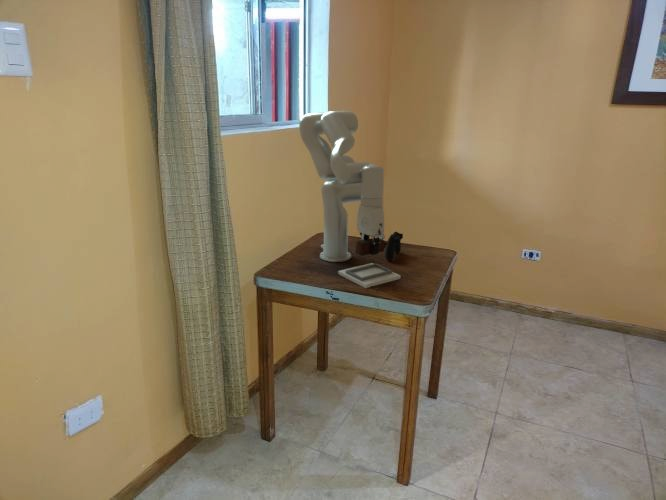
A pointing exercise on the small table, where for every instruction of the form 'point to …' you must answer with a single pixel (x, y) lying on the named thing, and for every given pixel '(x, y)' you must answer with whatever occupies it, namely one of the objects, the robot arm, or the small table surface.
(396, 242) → the gaming controller
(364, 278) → the baseplate
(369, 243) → the brick
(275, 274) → the small table surface
